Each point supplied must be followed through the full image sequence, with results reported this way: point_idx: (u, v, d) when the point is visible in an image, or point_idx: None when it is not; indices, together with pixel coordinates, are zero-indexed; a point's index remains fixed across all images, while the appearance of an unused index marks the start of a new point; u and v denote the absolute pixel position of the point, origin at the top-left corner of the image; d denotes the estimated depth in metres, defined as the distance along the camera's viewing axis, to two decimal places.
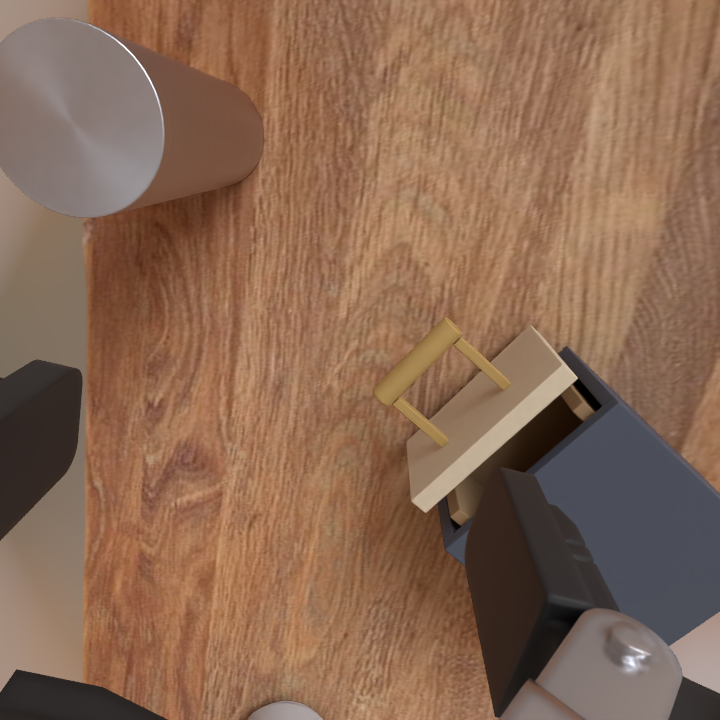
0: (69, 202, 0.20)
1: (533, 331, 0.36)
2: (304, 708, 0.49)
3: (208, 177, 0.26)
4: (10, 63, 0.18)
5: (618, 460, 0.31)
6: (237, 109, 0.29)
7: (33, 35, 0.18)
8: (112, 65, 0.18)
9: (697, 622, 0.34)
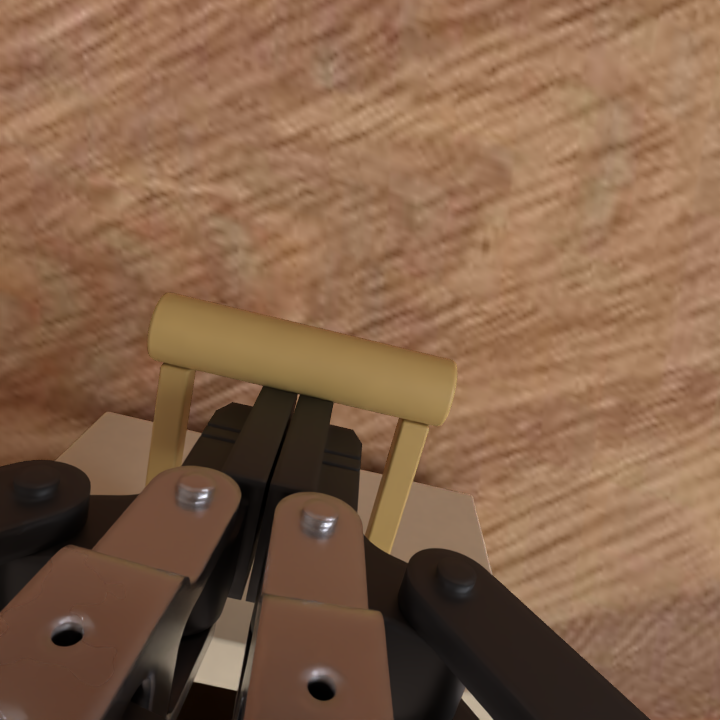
0: None
1: (475, 518, 0.17)
2: None
3: None
4: None
5: None
6: None
7: None
8: None
9: None
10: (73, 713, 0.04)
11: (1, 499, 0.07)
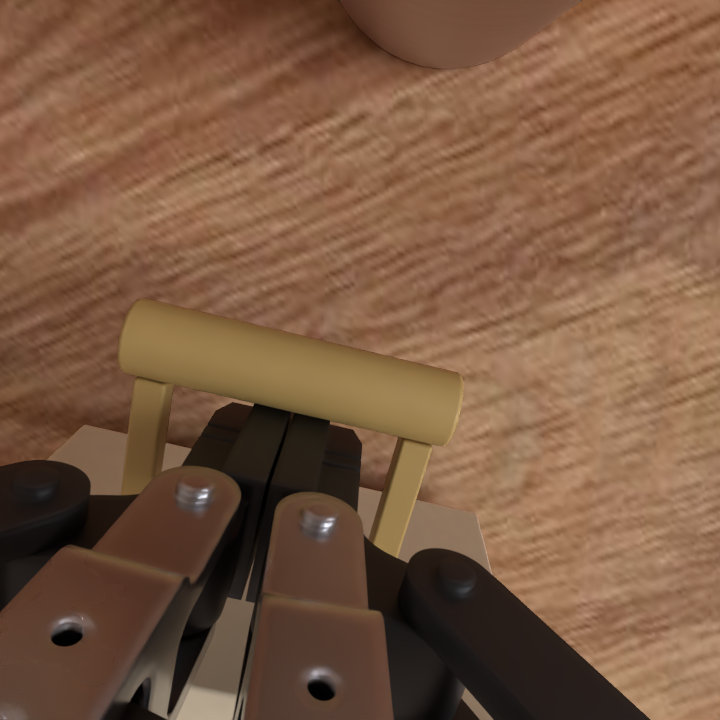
0: None
1: (480, 539, 0.16)
2: None
3: None
4: None
5: None
6: None
7: None
8: None
9: None
10: (73, 713, 0.04)
11: (1, 500, 0.07)
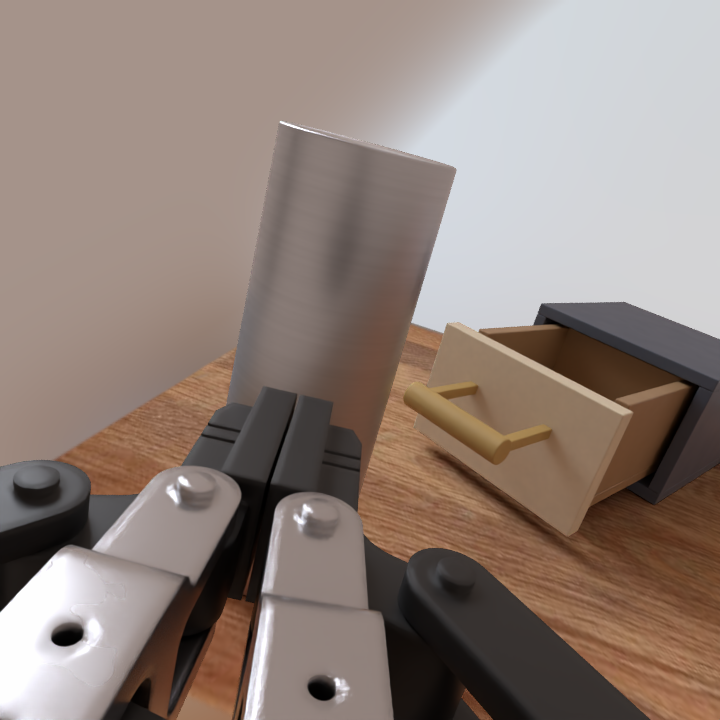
0: (442, 164, 0.19)
1: None
2: None
3: None
4: (309, 129, 0.18)
5: (584, 313, 0.43)
6: None
7: (291, 123, 0.19)
8: (328, 132, 0.21)
9: (689, 328, 0.49)
10: (73, 713, 0.04)
11: (1, 500, 0.07)
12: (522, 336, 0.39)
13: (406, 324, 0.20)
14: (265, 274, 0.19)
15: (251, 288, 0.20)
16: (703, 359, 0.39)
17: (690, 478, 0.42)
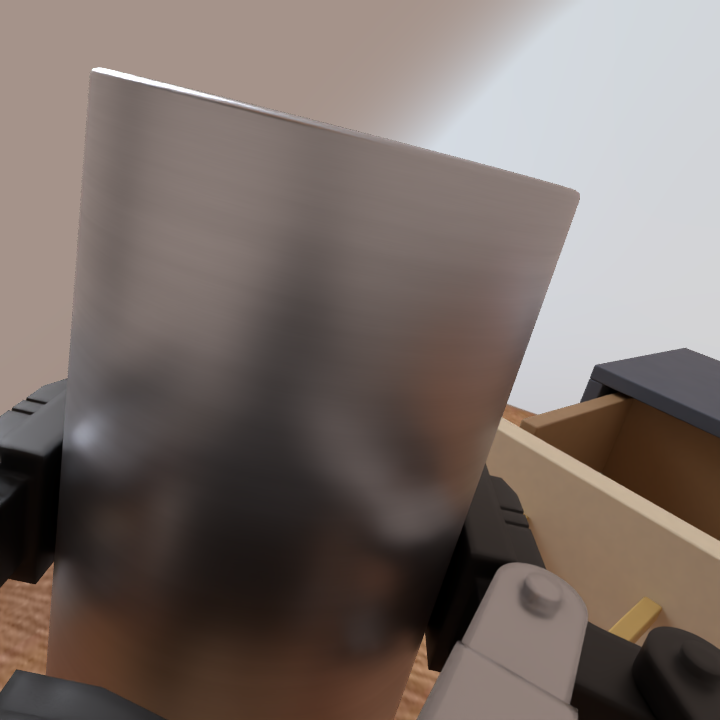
0: None
1: None
2: None
3: None
4: None
5: (653, 377, 0.32)
6: None
7: None
8: None
9: None
10: None
11: None
12: (579, 421, 0.27)
13: (446, 570, 0.08)
14: (72, 483, 0.07)
15: None
16: None
17: None
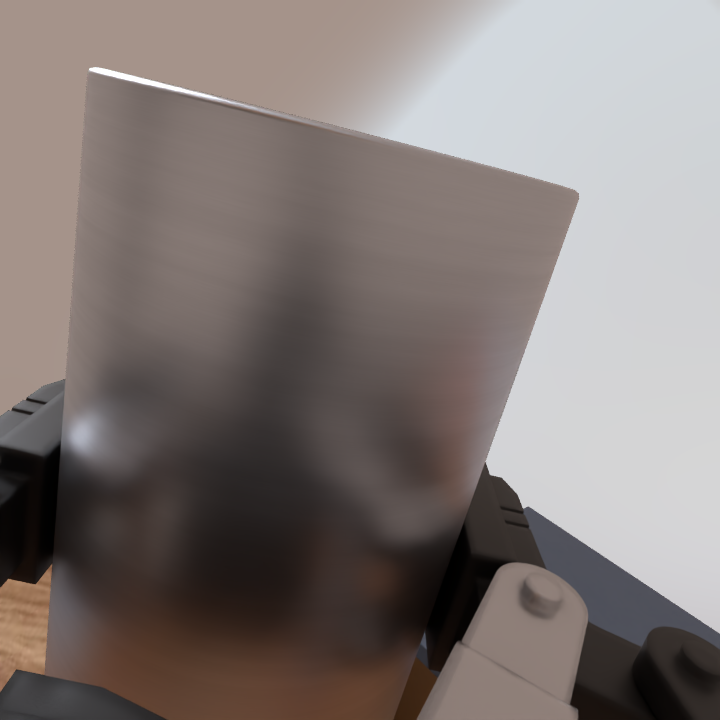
0: None
1: None
2: None
3: None
4: None
5: None
6: None
7: None
8: None
9: (616, 567, 0.33)
10: None
11: None
12: None
13: (445, 572, 0.08)
14: (70, 484, 0.07)
15: None
16: None
17: None
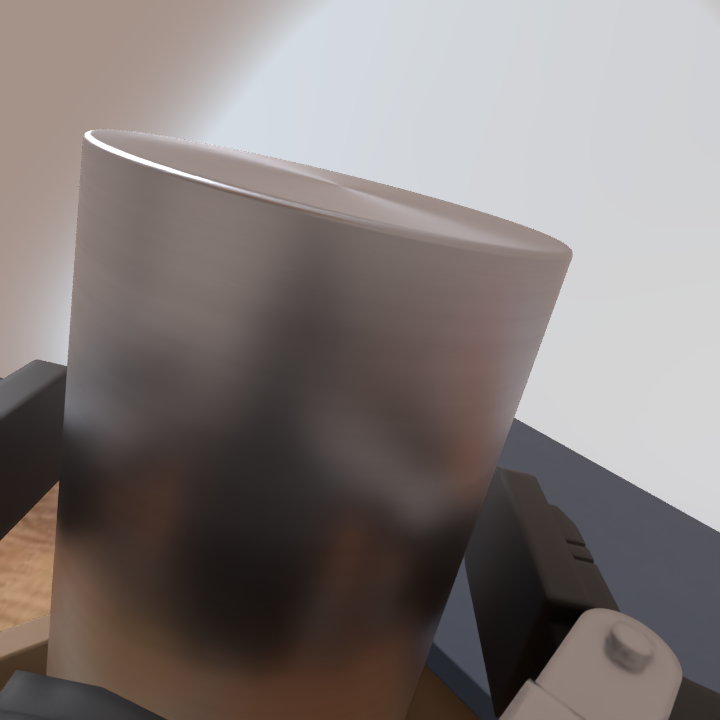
0: (535, 238, 0.07)
1: None
2: None
3: None
4: (156, 151, 0.06)
5: None
6: None
7: (123, 136, 0.07)
8: (248, 154, 0.09)
9: (622, 480, 0.25)
10: None
11: None
12: None
13: (440, 617, 0.08)
14: (67, 538, 0.07)
15: None
16: None
17: None
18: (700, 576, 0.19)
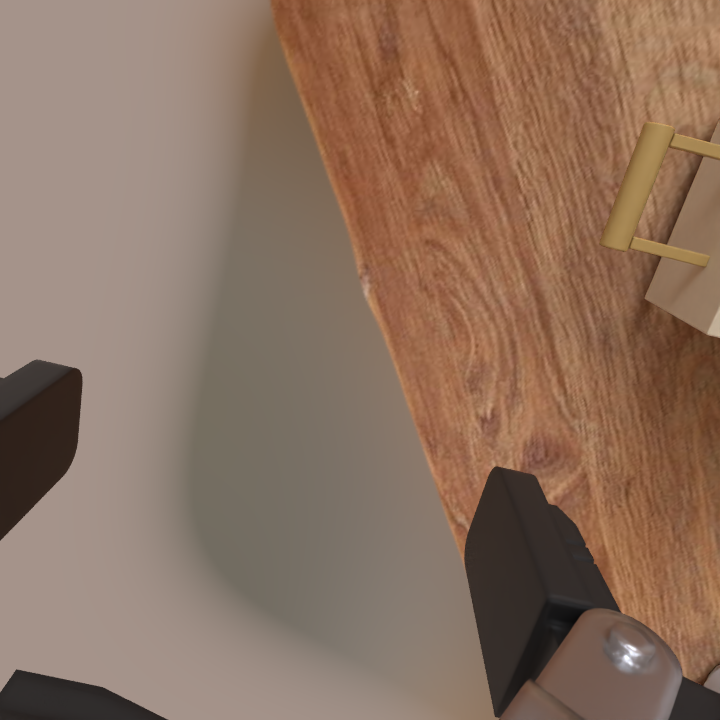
0: None
1: None
2: None
3: None
4: None
5: None
6: None
7: None
8: None
9: None
10: None
11: None
12: None
13: None
14: None
15: None
16: None
17: None
18: None
